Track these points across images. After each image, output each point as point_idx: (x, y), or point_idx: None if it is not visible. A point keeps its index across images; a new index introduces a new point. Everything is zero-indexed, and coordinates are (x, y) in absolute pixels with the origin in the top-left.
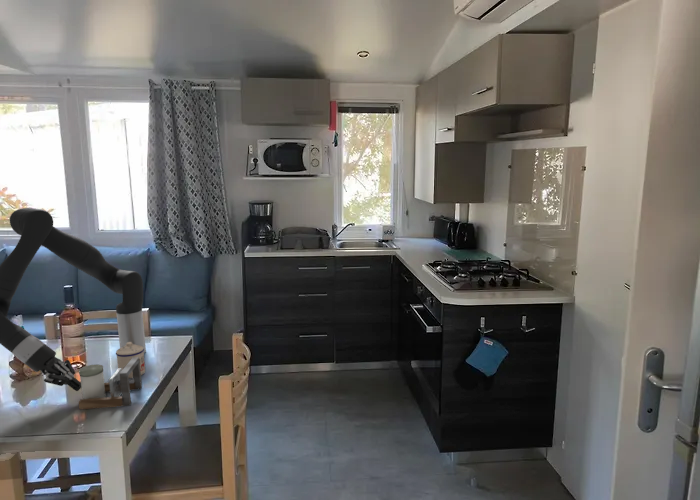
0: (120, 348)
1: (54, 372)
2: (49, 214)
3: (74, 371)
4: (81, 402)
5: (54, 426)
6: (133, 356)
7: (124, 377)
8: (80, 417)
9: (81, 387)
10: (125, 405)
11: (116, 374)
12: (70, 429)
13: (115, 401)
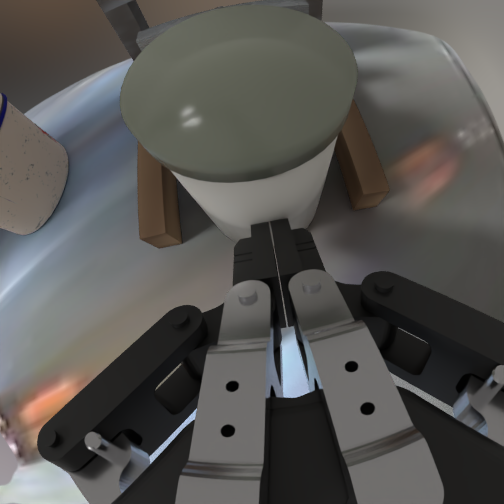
0: None
1: (453, 418)
2: None
3: (159, 322)
4: (383, 179)
5: (497, 229)
6: (9, 105)
7: None
8: (432, 163)
9: (309, 200)
10: None
11: (231, 6)
12: (492, 159)
13: None
